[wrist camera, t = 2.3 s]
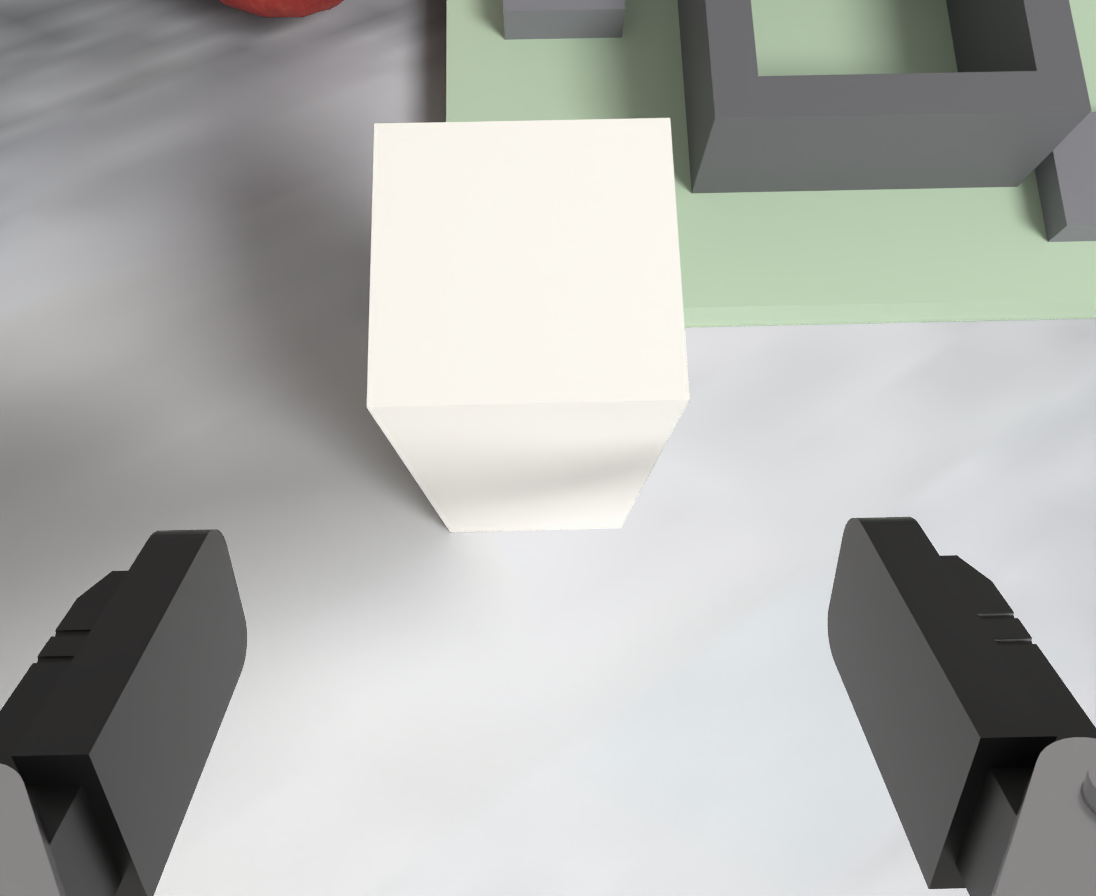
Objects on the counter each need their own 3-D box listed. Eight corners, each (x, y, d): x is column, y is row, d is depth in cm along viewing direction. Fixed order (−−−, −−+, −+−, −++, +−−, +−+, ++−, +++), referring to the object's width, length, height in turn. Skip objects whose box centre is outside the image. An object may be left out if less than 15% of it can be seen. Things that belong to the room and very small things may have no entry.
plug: (450, 532, 20) (365, 407, 11) (450, 347, 22) (375, 84, 12) (621, 528, 21) (688, 400, 11) (612, 344, 22) (667, 79, 12)
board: (450, 332, 22) (428, 254, 18) (451, -123, 25) (433, -277, 21) (1248, 314, 22) (1409, 233, 18) (1140, -134, 25) (1254, -288, 21)
